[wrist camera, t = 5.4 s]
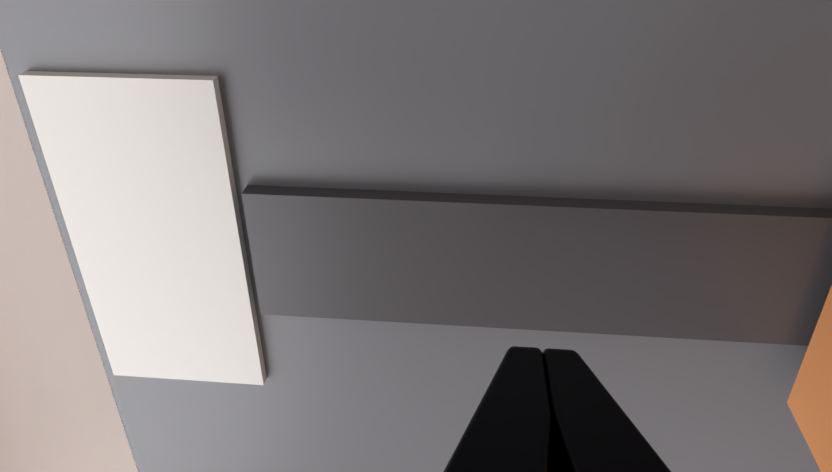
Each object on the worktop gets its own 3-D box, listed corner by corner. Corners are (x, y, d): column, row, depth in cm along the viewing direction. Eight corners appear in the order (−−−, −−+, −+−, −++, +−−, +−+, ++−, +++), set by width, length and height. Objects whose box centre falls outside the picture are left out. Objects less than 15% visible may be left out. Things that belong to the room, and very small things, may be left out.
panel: (1495, -306, 9) (1959, -363, 6) (992, 473, 17) (1093, 606, 14) (31, -276, 11) (-136, -309, 8) (199, 416, 18) (146, 524, 16)
